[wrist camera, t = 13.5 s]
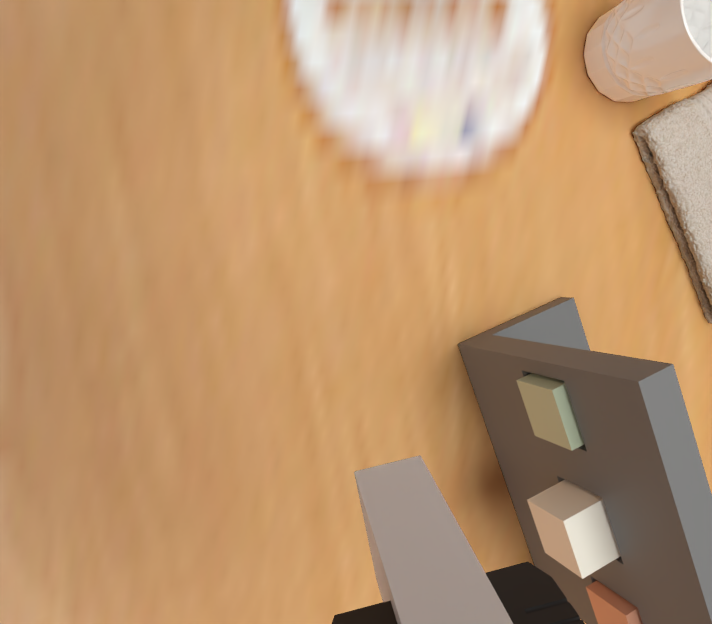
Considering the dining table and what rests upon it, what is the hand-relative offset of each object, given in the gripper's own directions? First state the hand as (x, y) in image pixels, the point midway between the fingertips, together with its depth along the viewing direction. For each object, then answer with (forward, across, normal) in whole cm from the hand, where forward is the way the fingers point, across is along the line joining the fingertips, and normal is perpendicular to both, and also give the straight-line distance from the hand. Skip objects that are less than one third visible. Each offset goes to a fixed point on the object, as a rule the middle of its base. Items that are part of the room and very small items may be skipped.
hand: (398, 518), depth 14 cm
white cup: (+36, +27, +10) cm, 46 cm away
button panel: (+30, +15, -16) cm, 37 cm away
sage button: (+22, +13, -9) cm, 27 cm away
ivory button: (+21, +12, -16) cm, 29 cm away
